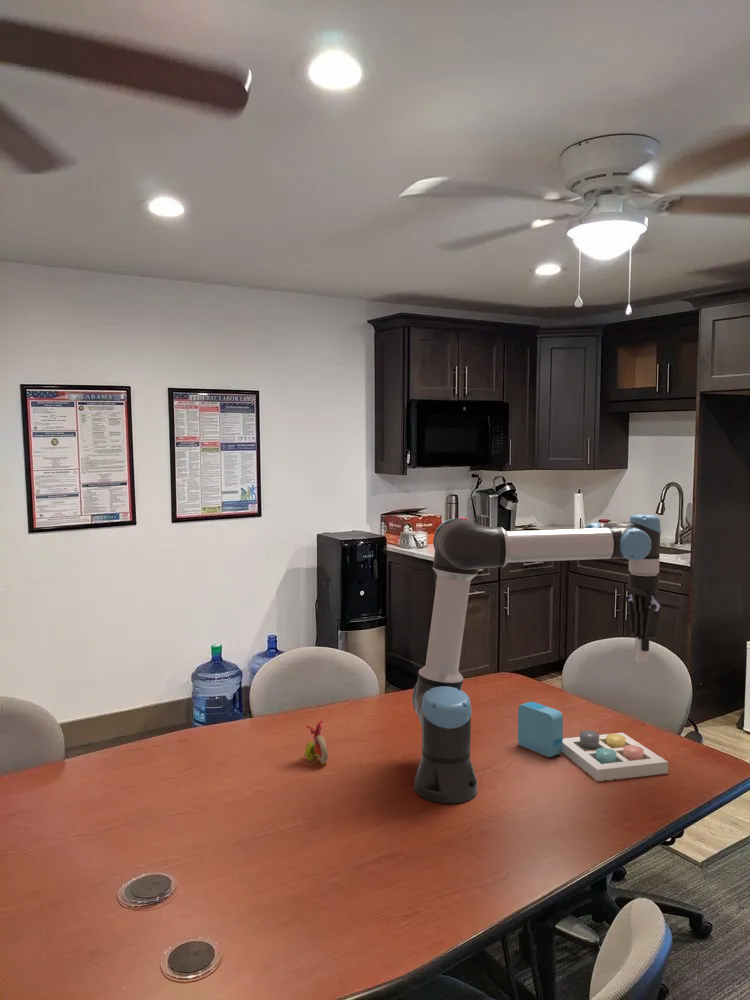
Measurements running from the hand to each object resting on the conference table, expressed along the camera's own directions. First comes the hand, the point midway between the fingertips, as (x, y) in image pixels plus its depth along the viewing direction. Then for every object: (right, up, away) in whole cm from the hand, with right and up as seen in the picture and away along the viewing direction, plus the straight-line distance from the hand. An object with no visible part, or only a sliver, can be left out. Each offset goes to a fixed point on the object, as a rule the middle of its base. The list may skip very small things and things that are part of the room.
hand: (641, 662), depth 187 cm
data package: (-25, -26, +8) cm, 37 cm away
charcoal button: (-13, -23, +3) cm, 27 cm away
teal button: (-11, -25, -4) cm, 28 cm away
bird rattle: (-85, -27, 0) cm, 89 cm away
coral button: (-3, -25, -2) cm, 26 cm away
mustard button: (-5, -25, +5) cm, 26 cm away
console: (-8, -26, 0) cm, 28 cm away
